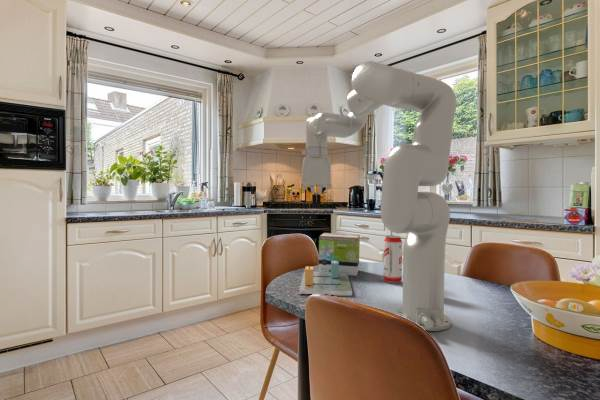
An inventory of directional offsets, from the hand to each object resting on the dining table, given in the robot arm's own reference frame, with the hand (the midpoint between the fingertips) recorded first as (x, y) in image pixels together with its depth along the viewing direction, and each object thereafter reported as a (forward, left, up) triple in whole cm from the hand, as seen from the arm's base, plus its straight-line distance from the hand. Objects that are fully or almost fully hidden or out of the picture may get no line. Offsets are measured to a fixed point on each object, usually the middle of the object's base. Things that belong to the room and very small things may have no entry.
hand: (316, 205), depth 121 cm
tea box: (+14, -9, -27) cm, 31 cm away
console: (-5, -3, -26) cm, 27 cm away
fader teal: (0, -7, -25) cm, 26 cm away
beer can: (+1, -27, -27) cm, 38 cm away
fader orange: (-10, +2, -25) cm, 27 cm away
